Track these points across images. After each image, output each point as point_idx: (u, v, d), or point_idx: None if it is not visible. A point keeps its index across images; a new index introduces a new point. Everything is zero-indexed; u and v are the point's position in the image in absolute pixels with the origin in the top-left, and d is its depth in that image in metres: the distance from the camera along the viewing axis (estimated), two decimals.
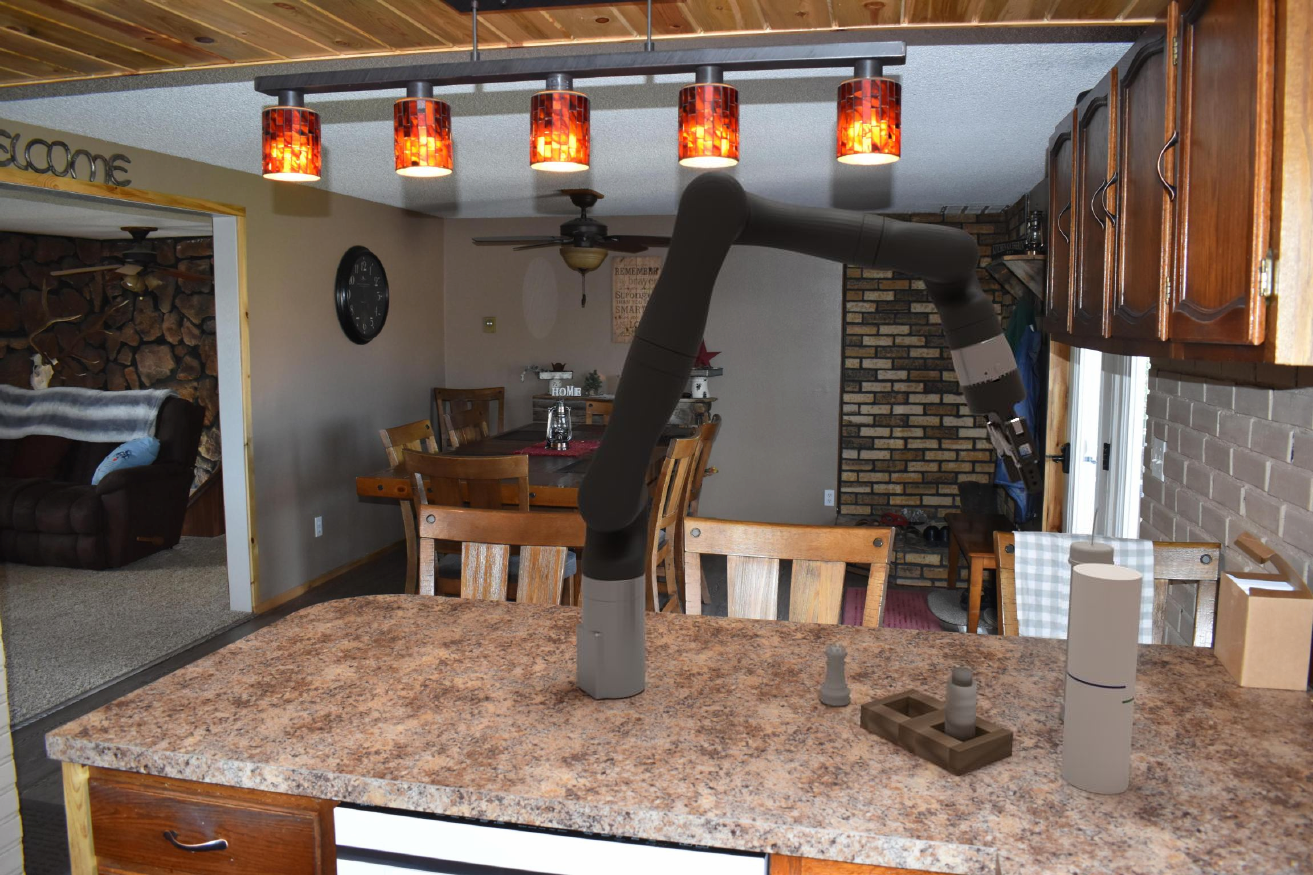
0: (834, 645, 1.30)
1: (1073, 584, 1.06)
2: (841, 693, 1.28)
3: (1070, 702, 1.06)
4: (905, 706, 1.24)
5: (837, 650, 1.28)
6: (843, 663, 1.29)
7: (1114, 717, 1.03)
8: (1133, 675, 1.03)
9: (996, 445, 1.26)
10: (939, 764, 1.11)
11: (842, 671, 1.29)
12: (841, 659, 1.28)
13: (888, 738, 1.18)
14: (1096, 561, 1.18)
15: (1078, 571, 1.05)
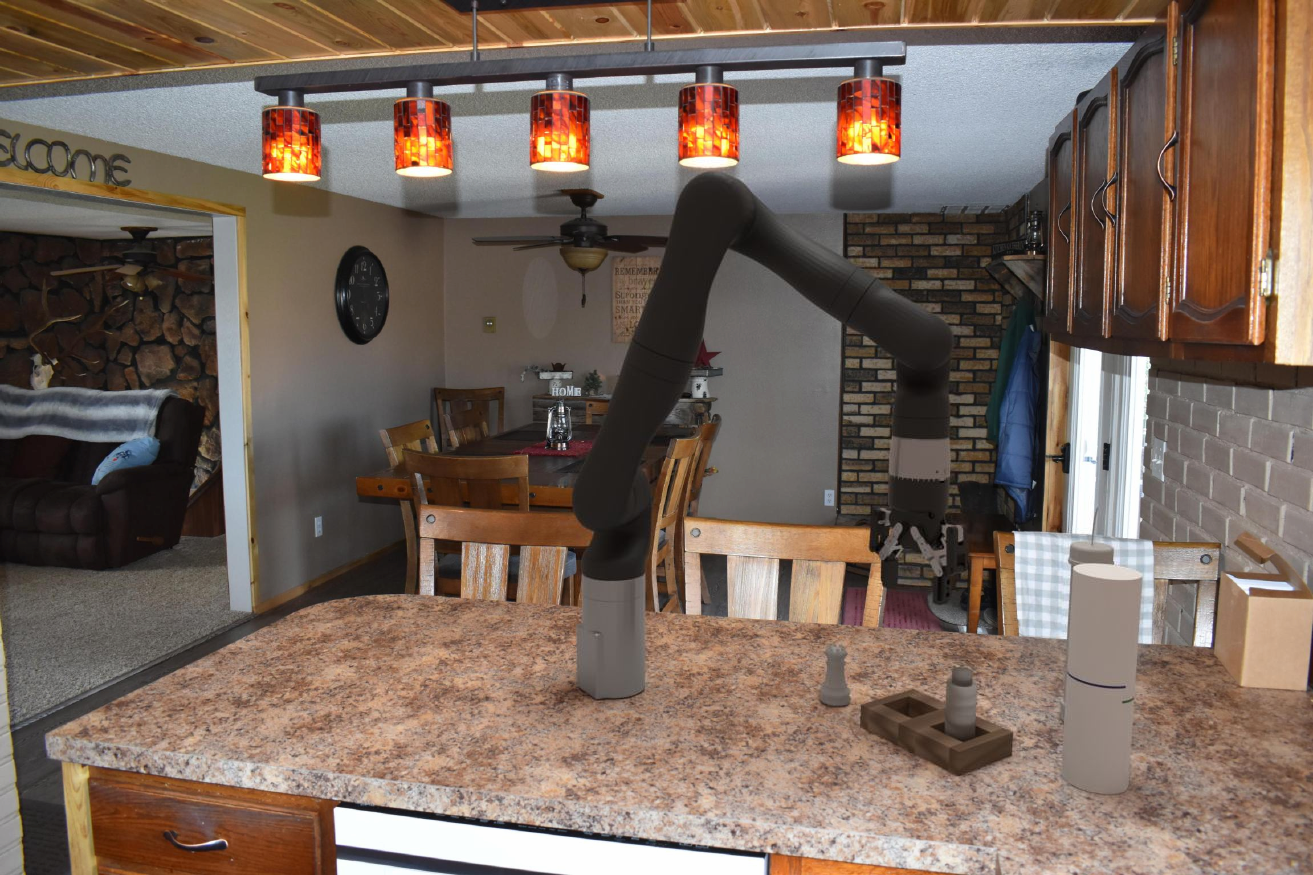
0: (834, 645, 1.30)
1: (1073, 584, 1.06)
2: (841, 693, 1.28)
3: (1070, 702, 1.06)
4: (905, 706, 1.24)
5: (837, 650, 1.28)
6: (843, 663, 1.29)
7: (1114, 717, 1.03)
8: (1133, 675, 1.03)
9: (892, 546, 1.20)
10: (939, 764, 1.11)
11: (842, 671, 1.29)
12: (841, 659, 1.28)
13: (888, 738, 1.18)
14: (1096, 561, 1.18)
15: (1078, 571, 1.05)
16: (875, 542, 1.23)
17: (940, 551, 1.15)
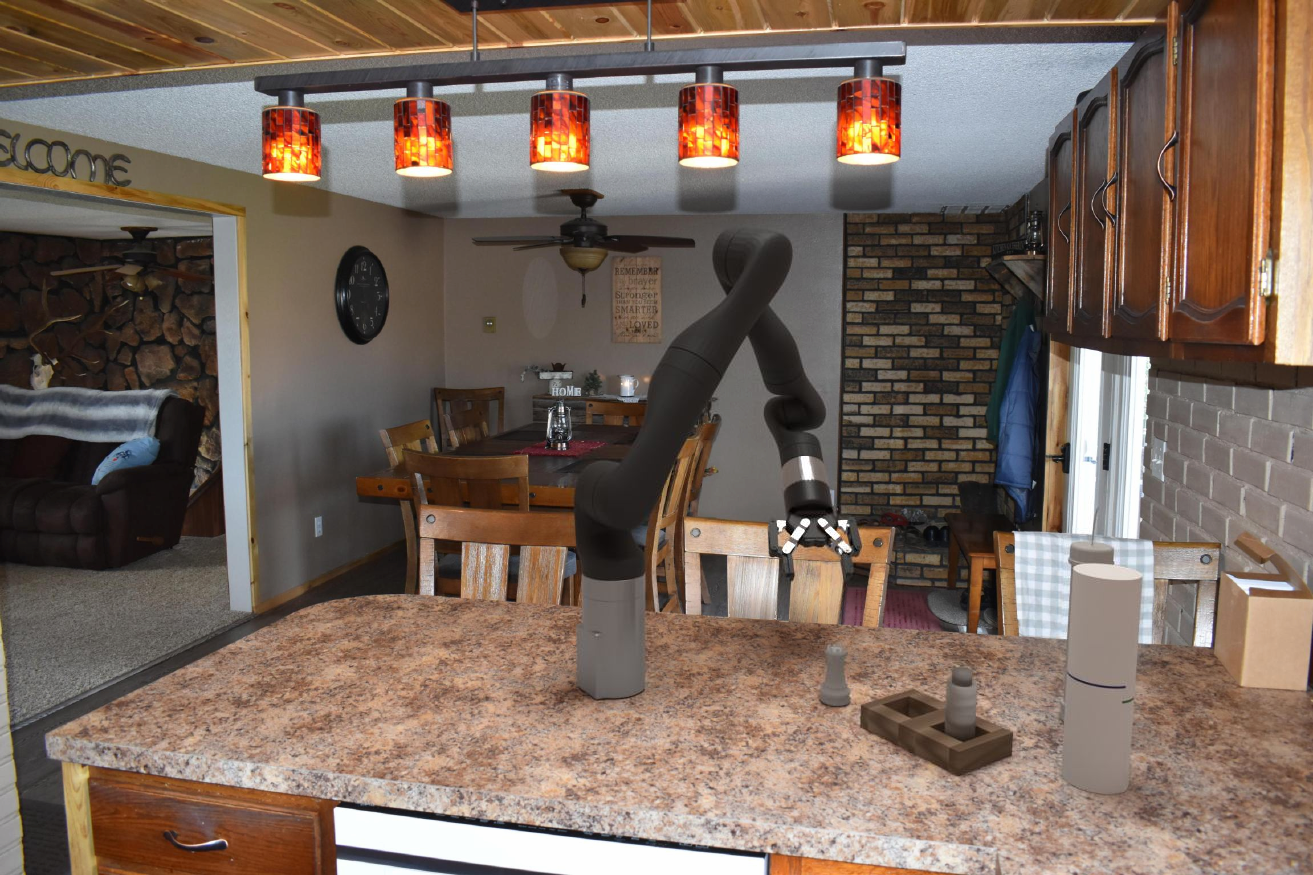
0: (834, 645, 1.30)
1: (1073, 584, 1.06)
2: (841, 693, 1.28)
3: (1070, 702, 1.06)
4: (905, 706, 1.24)
5: (837, 650, 1.28)
6: (843, 663, 1.29)
7: (1114, 717, 1.03)
8: (1133, 675, 1.03)
9: (798, 539, 1.42)
10: (939, 764, 1.11)
11: (842, 671, 1.29)
12: (841, 659, 1.28)
13: (888, 738, 1.18)
14: (1096, 561, 1.18)
15: (1078, 571, 1.05)
16: (777, 541, 1.42)
17: None
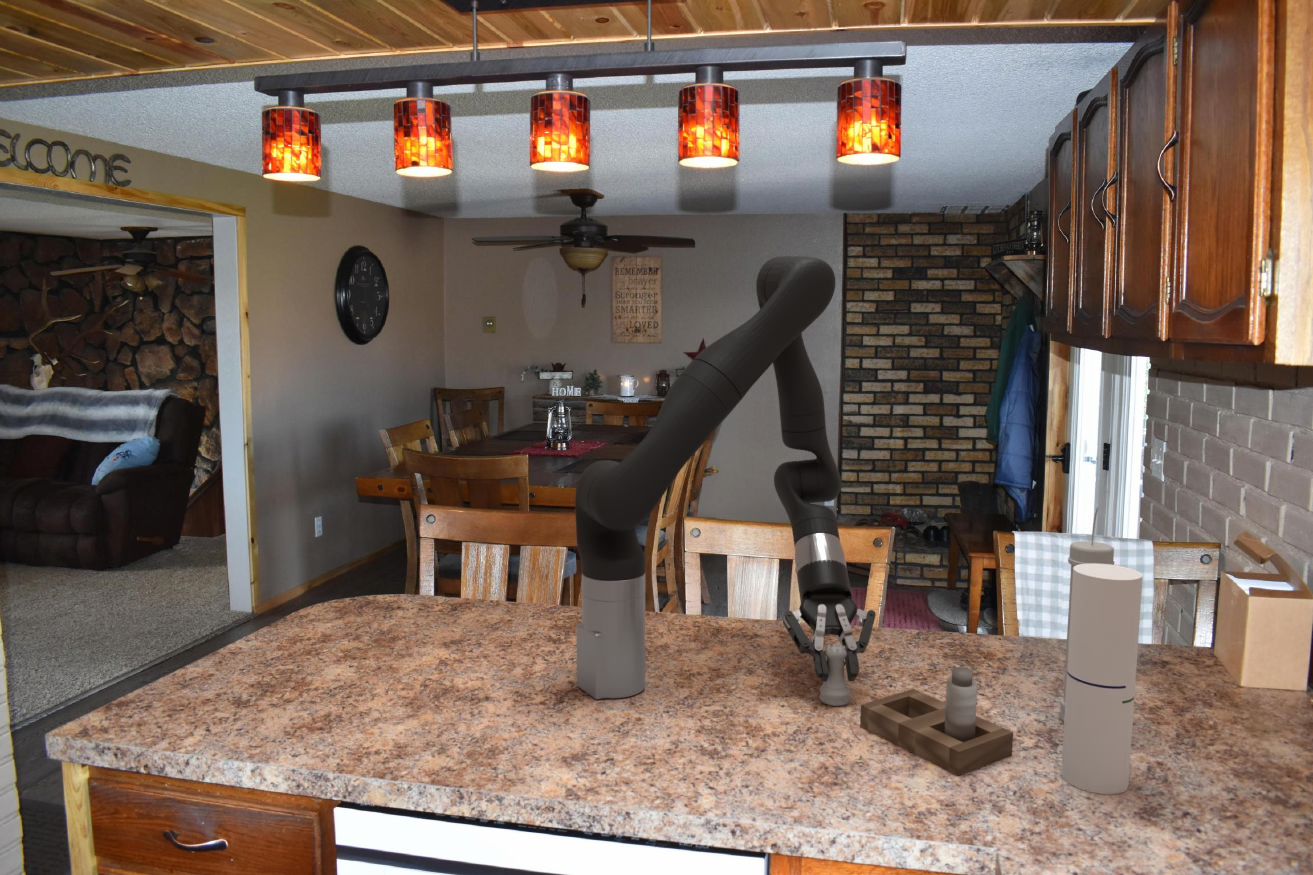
0: (834, 645, 1.30)
1: (1073, 584, 1.06)
2: (840, 692, 1.28)
3: (1070, 702, 1.06)
4: (905, 706, 1.24)
5: (837, 650, 1.28)
6: (843, 663, 1.29)
7: (1114, 717, 1.03)
8: (1133, 675, 1.03)
9: (824, 629, 1.30)
10: (939, 764, 1.11)
11: (842, 671, 1.29)
12: (841, 659, 1.28)
13: (888, 738, 1.18)
14: (1096, 561, 1.18)
15: (1078, 571, 1.05)
16: (805, 635, 1.30)
17: None
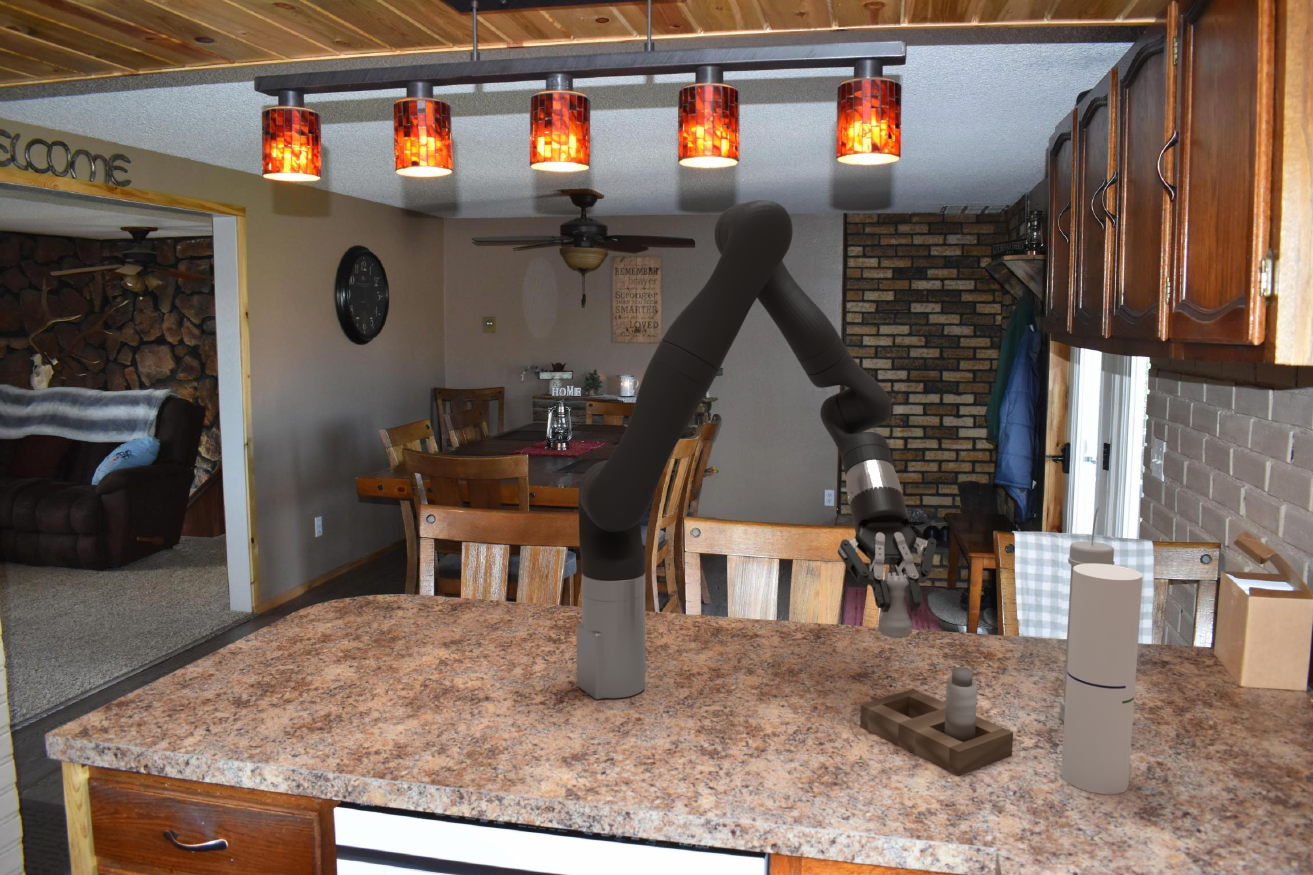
0: (894, 574, 1.23)
1: (1073, 584, 1.06)
2: (902, 623, 1.21)
3: (1070, 702, 1.06)
4: (905, 706, 1.24)
5: (898, 578, 1.20)
6: (904, 592, 1.21)
7: (1114, 717, 1.03)
8: (1133, 675, 1.03)
9: (884, 558, 1.23)
10: (939, 764, 1.11)
11: (903, 601, 1.21)
12: (903, 588, 1.21)
13: (888, 738, 1.18)
14: (1096, 561, 1.18)
15: (1078, 571, 1.05)
16: (864, 564, 1.23)
17: None
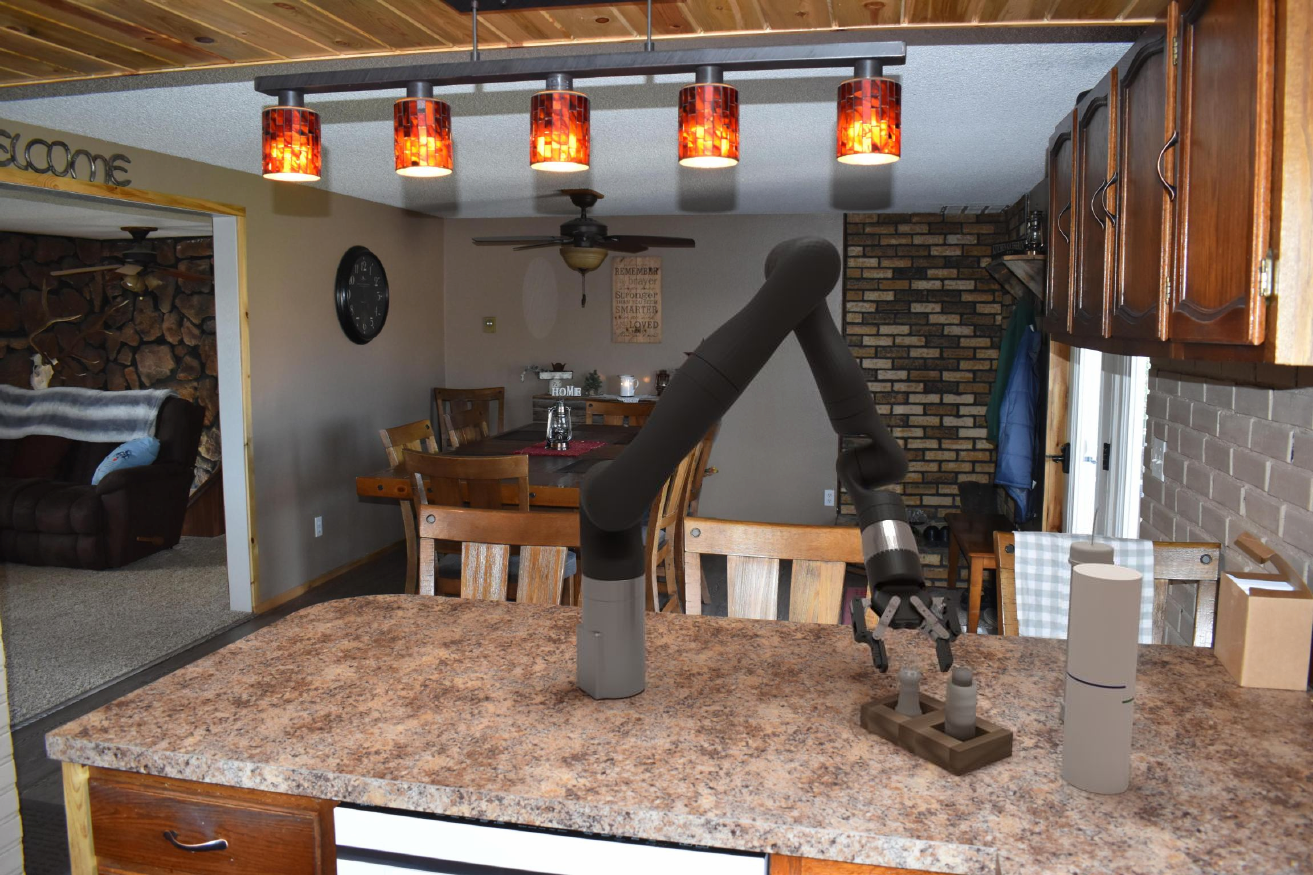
0: (907, 668, 1.21)
1: (1073, 584, 1.06)
2: None
3: (1070, 702, 1.06)
4: None
5: (912, 674, 1.19)
6: (918, 687, 1.20)
7: (1114, 717, 1.03)
8: (1133, 675, 1.03)
9: (889, 621, 1.21)
10: (939, 764, 1.11)
11: (917, 696, 1.20)
12: (916, 683, 1.19)
13: (888, 738, 1.18)
14: (1096, 561, 1.18)
15: (1078, 571, 1.05)
16: (865, 624, 1.21)
17: None
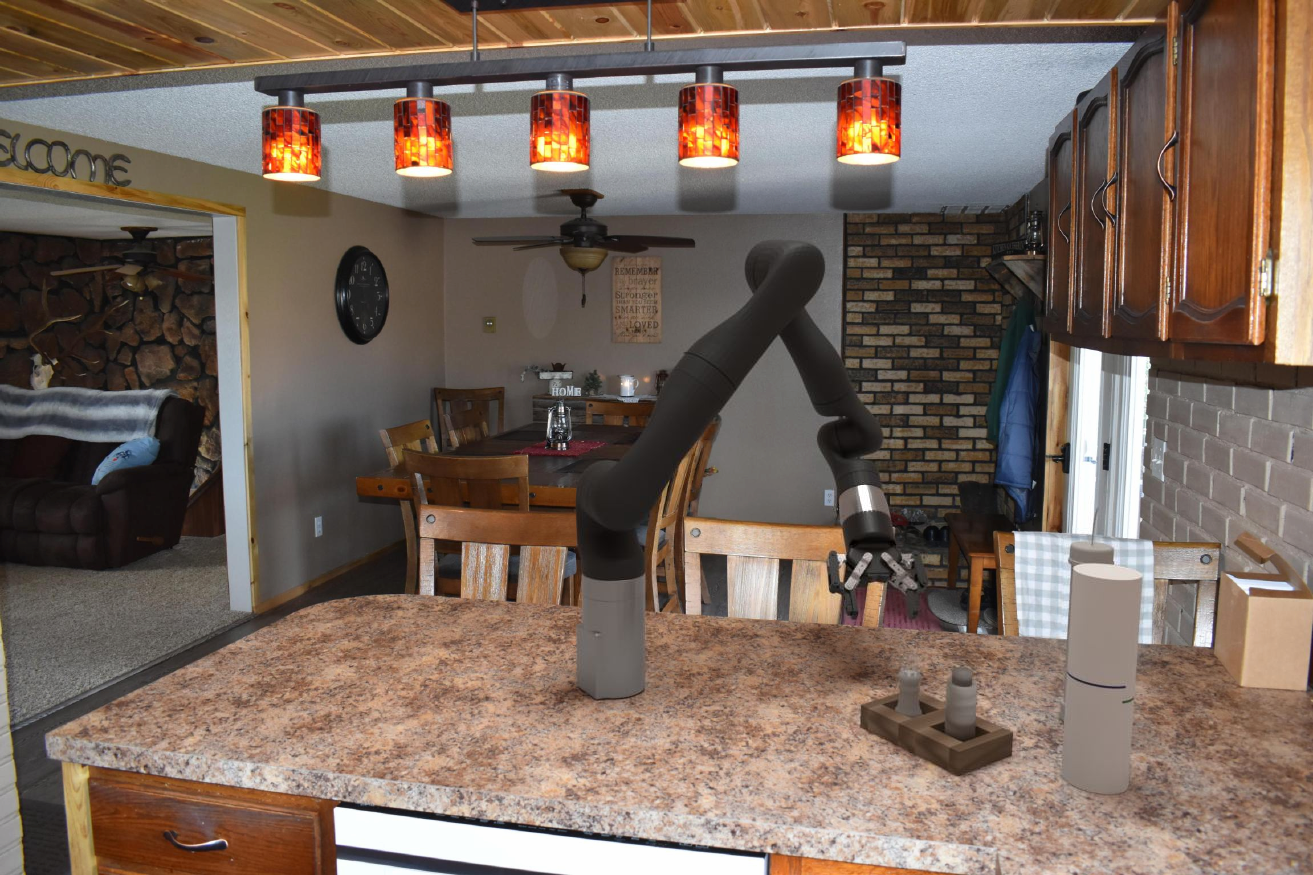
0: (907, 668, 1.21)
1: (1073, 584, 1.06)
2: None
3: (1070, 702, 1.06)
4: None
5: (912, 674, 1.19)
6: (918, 688, 1.20)
7: (1114, 717, 1.03)
8: (1133, 675, 1.03)
9: (861, 574, 1.34)
10: (939, 764, 1.11)
11: (917, 696, 1.20)
12: (916, 684, 1.19)
13: (888, 738, 1.18)
14: (1096, 561, 1.18)
15: (1078, 571, 1.05)
16: (838, 576, 1.34)
17: None
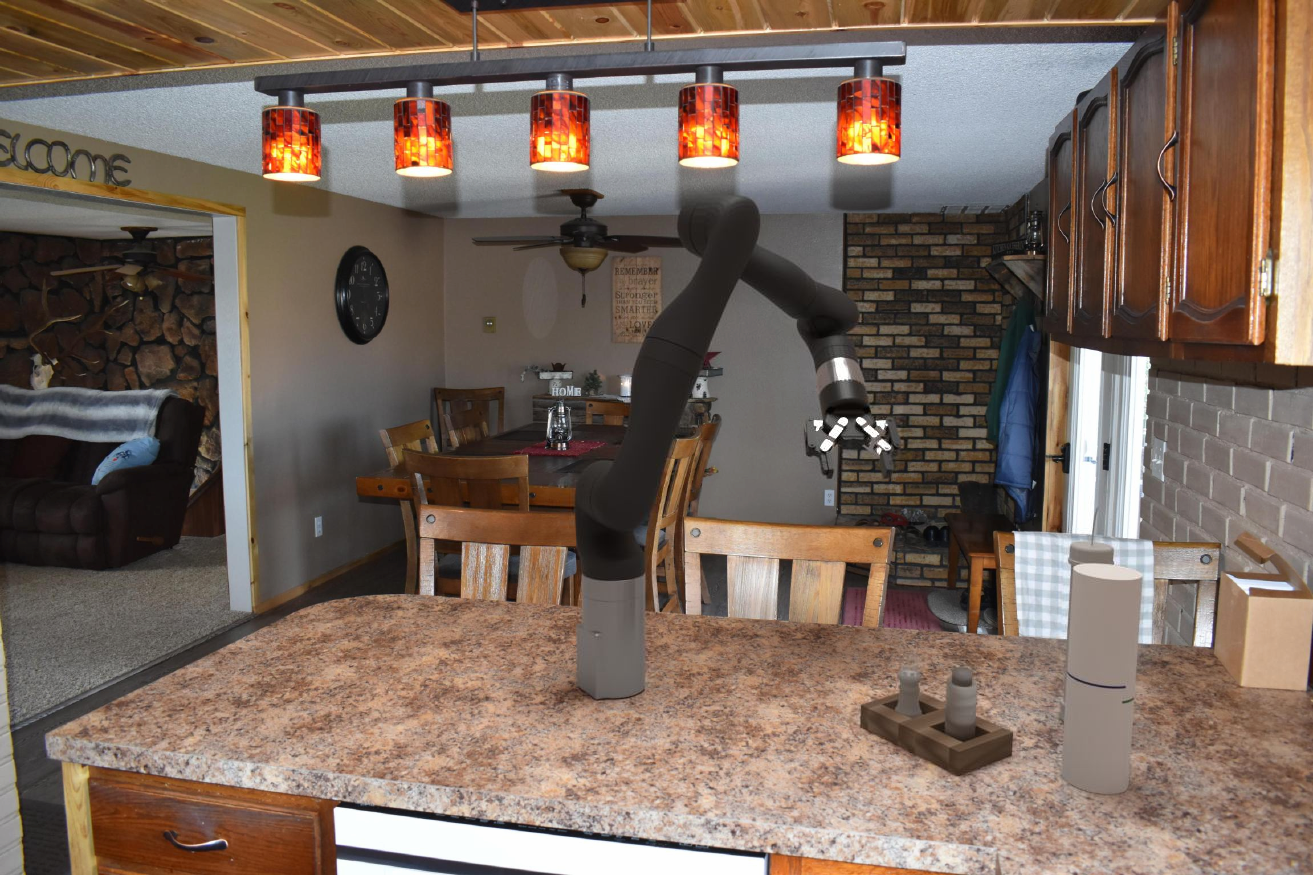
0: (907, 668, 1.21)
1: (1073, 584, 1.06)
2: None
3: (1070, 702, 1.06)
4: None
5: (912, 674, 1.19)
6: (917, 688, 1.20)
7: (1114, 717, 1.03)
8: (1133, 675, 1.03)
9: (836, 437, 1.39)
10: (939, 764, 1.11)
11: (916, 696, 1.20)
12: (916, 684, 1.19)
13: (888, 738, 1.18)
14: (1096, 561, 1.18)
15: (1078, 571, 1.05)
16: (815, 439, 1.39)
17: None
